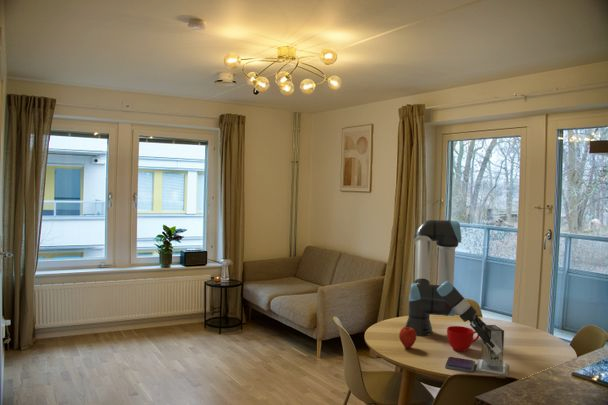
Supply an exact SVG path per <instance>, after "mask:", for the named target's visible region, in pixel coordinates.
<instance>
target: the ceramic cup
mask: <svg viewBox="0 0 608 405" xmlns="http://www.w3.org/2000/svg"><path fill="white" fill-rule="evenodd" d="M475 334H477V333H476V331H475V330H474V329H473V328H470V327H466V326H459V325H451V326H448V327H447V328H446V336H447V341H448V343H449V345H450V346H451V348H452V349H453V350H454V351H457V352H466V351H467V350H468V349H469V348H470V347H471V345H472V343H474V342H476V341H478V340H479V338H480V336H479V335H478V334H477V335H476V337H475V338H474V336H475Z"/></svg>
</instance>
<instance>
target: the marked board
mask: <svg viewBox="0 0 608 405" xmlns="http://www.w3.org/2000/svg"><path fill="white" fill-rule="evenodd" d="M508 366H509V363H506V362H503V366H490V365H488V364H487V363H486V362H485V361H483V360H482V358H481V359H480V358H477V364H476V369H475V372H479V373H484V374H490V375H497V376H503V377H508V370H509V367H508Z"/></svg>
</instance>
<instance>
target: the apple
mask: <svg viewBox="0 0 608 405" xmlns="http://www.w3.org/2000/svg"><path fill="white" fill-rule="evenodd" d="M398 334H399V335H398V338H399V341H400V342H401V344H402V345H403V347H404V348H406V349H411V348H412V347H413V345H414V344H415V342H416V340H417V335H416V332H415V330H414V329H413V328H410V327H405V326H404V327H402V328H401V329H400V331H399V333H398Z"/></svg>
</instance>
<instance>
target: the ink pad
mask: <svg viewBox="0 0 608 405" xmlns="http://www.w3.org/2000/svg"><path fill="white" fill-rule="evenodd" d="M475 365H476V361H475V360H473V359H467V358H459V357H454V356H448V358H447V361H446V362H445V369H450V370H455V371H462V372H466V373H474V370H475Z"/></svg>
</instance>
